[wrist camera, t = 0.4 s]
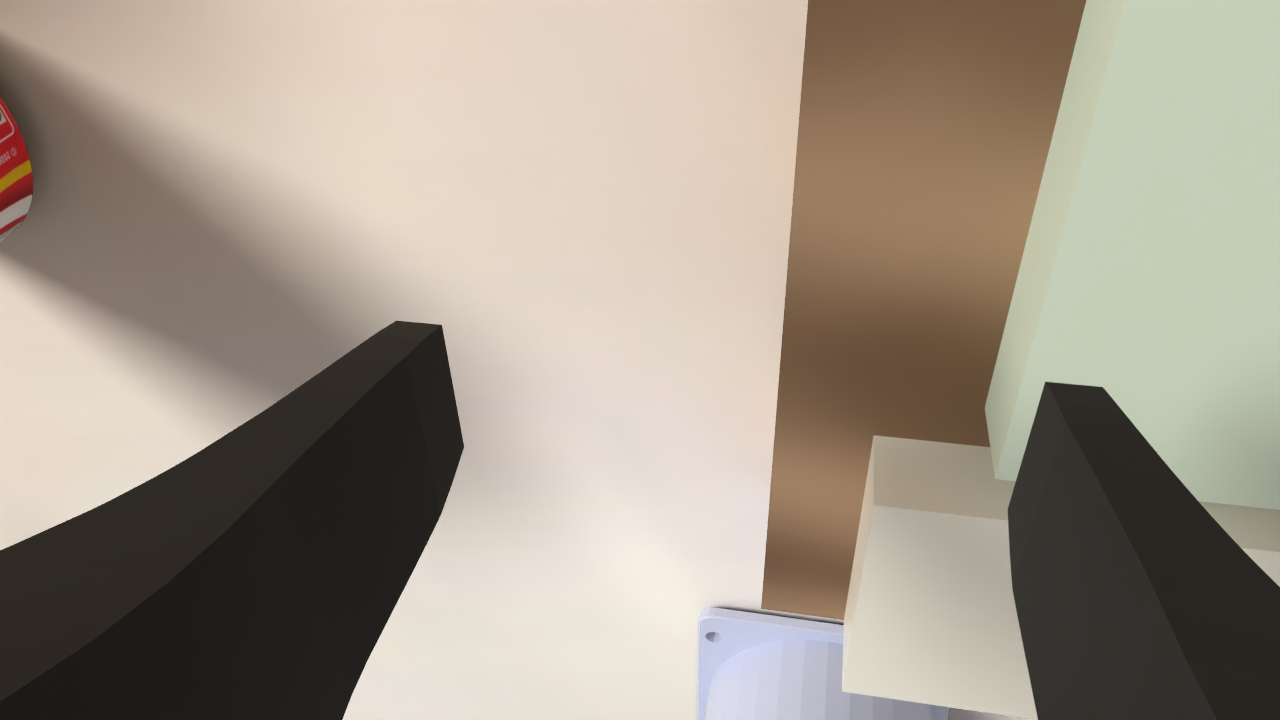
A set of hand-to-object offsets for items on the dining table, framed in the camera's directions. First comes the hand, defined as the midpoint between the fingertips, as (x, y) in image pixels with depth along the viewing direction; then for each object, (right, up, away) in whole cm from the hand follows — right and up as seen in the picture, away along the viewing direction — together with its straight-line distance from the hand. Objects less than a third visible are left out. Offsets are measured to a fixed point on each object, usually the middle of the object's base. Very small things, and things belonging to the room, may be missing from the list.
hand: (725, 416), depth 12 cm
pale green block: (+8, +3, +4) cm, 10 cm away
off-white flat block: (+8, -4, +9) cm, 13 cm away
